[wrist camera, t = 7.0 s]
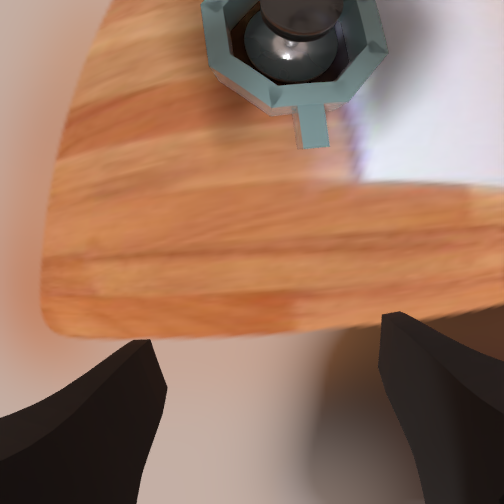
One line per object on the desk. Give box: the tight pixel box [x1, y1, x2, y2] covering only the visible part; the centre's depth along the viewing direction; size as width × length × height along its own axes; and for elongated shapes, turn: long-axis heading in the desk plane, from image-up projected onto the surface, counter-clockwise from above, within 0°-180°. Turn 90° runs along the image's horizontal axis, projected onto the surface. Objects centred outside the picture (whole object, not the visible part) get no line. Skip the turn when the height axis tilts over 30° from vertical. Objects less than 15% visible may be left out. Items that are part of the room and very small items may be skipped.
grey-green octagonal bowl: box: [200, 0, 388, 149], centre depth 14 cm, size 8×10×4 cm
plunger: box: [244, 0, 343, 83], centre depth 12 cm, size 5×5×6 cm
